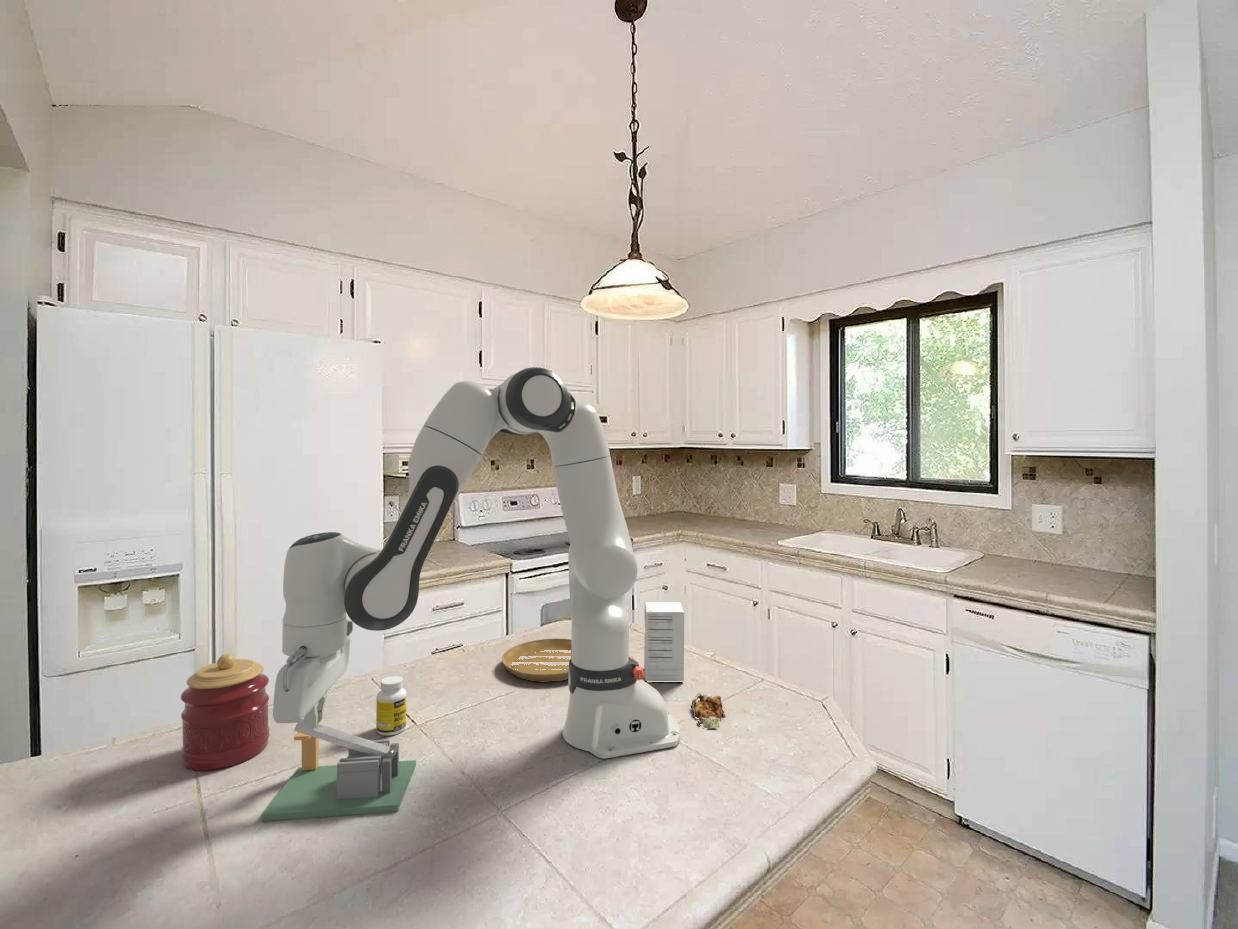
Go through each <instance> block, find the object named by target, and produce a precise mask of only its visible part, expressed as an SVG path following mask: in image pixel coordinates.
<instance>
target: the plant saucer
mask: <svg viewBox="0 0 1238 929" xmlns="http://www.w3.org/2000/svg"><path fill="white" fill-rule="evenodd" d="M544 650H568V651H569V650H571V638H544V639H543V638H542V639H536V640H535V639H533V640H530V641H525V642H522V643H519V644H517V645H514V646H512V647H510V648H509V649H507V650H506V651H505V652H504V653H503V655H502V657H501V661H502V664H503V666H504V668H505V669H506V670H507V672H509V673H510V674H512V675H513V676H515V677H516V678H519V679H521V678H522V680H524V679H525V680H524V681H528V680H530V681H529V682H534V681H545V682H544V683H551V682H550V681H558V682H563V680H565V681H568V680H567V679H568V667H569V665H567V666H565V665H563V666H562V665H559V666H558V665H556V666H554V665H553V666H551V665H550V666H548V665H540V664H539V665H536V664H533V663H531V664H529V665H528V664H527V665H526V664H525V665H524V664H519V665H513V666H512V665H511V664H512V662H569V659H567V658H565V659H563V658H561V659H558V658H557V657H554V658H553V659H552V658H550V659H549V657H547V658H546V657H541V658H540V657H536V658H532V659H525V658H524V659H523V660H522V659H520V660H519V659H518V658H519V657H520V656H571V653H564V652H559V651H558V652H555V651H554V653H553V652H552V651H551V653H550V652H549V651H548V652H546V651H545V652H540V651H544ZM535 652H536V653H535ZM517 659H518V660H517ZM566 659H567V660H566ZM515 669H516V670H515ZM517 669H518V670H517ZM535 669H538V670H535ZM540 669H541V670H540ZM542 669H546V670H542ZM548 669H562V670H548ZM564 669H566V670H564ZM546 681H548V682H546Z"/></svg>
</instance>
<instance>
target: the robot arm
mask: <svg viewBox="0 0 1238 929" xmlns="http://www.w3.org/2000/svg"><path fill="white" fill-rule="evenodd" d="M498 432H500V433H506V434H509V435H515V436H520V435H522V436H523V435H530V434H537V433H538V434H540V435H541V436H542V437H543V439H544V440H545V442H546V443H547V445H548V449H549V450H550V456H551V457H550V458H551V462H552V463H551V464H552V469H553V473H554V474H553V475H554V480H555V485H556V489H557V490H556V491H557V494H558V500H559V504H560V508H561V513H562V516H563V521H564V524H565V527H566V528H565V529H566V532H567V537H568V540H569V546H568V547H569V548H568V554H567V555H568V556H567V557H568V558H567V559H568V583H569V584H568V585H569V587H568V588H569V602H570V604H569V605H570V615H571V619H570V621H571V622H570V623H571V630H570V632H571V633H570V634H571V638H570V639H571V659H570V660H569V667H568V680H567V682H568V683H567V685H568V689H569V700H568V707H567V712H566V718H565V722H564V724H563V729H562V732H561V734H562V736H563V739H564V741H565V742H566V743H567V744H568V745H571V746H572V747H574V748H576V749H579V750H582V751H586V752H589V753H591V754H593V755H594V756H595V757H597V758H599V759H604V760H605V759H610V758H617V757H623V756H627V755H633V754H634V755H635V754H639V753H644V752H645V753H646V752H649V751H650V752H652V751H656V750H662V749H669V748H674V747H677V745H678V744H679V743H680V740H681V730H680V726H679V724H678V722H677V720H676V718H674V716H673V715H672V714H671V713H670V712H668V709H667V704H666V702H665V699H664V698H663V696H662V695H661V693H660V692H659V690H658V689H656V688H655V687H653V686H652V685H651V684H649V682H645V680H644V679H645V672H644V668H643V667H641V666H640V664H639V662H638V661H637V660H636V658H634V657H633V656H631V657H630V656H629V654H630V648H629V647H630V644H629V643H630V640H629V639H630V635H629V634H630V618H629V614H628V607H627V600H626V593H628V592H629V591H631V589H632V588H633V586H634V585H635V582H636V580H637V577H638V563H637V559H636V555H635V553H634V548H633V545H632V539H631V537H630V536H631V535H630V534H629V533H630V532H629V528H628V525H627V522H626V518H625V515H624V512H623V509H622V505H621V502H620V498H619V494H618V493H619V492H618V490H617V485H616V484H617V483H616V480H615V473H614V468H613V463H612V457H611V454H610V452H611V451H610V448H609V443H608V439H607V437H606V432H605V429H604V427H603V424H602V421H601V418H600V416H599V414H598V412H597V410H596V408H595V407H594V406H592V405H591V404H588V403H585V402H583V401H581V402H580V401H576V400H575V398H574V396H573V395H572V394H571V393H570V391H569V390H568V388H567V386H566V384H564V382H563V381H562V379H561V378H560V377H559V376H558V375H557V374H556V373H554V372H553V371H552V370H550V369H547V368H544V367H539V366H538V367H537V366H536V367H534V366H532V367H527V368H524V369H521V370H519V371H518V372H516V373H514V374H511V375H510V376H508V377H507V378H506V379H505V380H504V381H502V383H501V384H499V385H497V386H496V387H495V388H489V387H487V386H485V385H484V384H481V383H478V382H476V381H471V380H464V381H463V380H462V381H459V382H456V383H454V384H453V385H452V386H451V387H450V388H449V389H448V390H447V391H446V392H445V393H444V395H443V396H442V397H441V398H440V400H439V401H438V402H437V404H436V405H435V406H434V408H433V409H432V411H431V412H430V414H429V415H428V417H427V419H426V421H425V422H424V423H423V426H421V429H420V431H419V432H418V435H417V437H416V439H415V441H414V443H413V446H412V448H411V451H410V455H409V459H408V460H407V470H408V481H409V482H408V484H409V485H408V491H407V492H408V493H407V498H406V501H405V503H404V506H403V508H402V509H401V512H400V514H399V516H398V518H397V520H396V522H395V524H394V526H393V528H392V529H391V531H390V533H389V536H388V537H387V539H386V541H385V543H384V545H383V547H382V548H381V549H379V548H373V547H371V546H370V547H369V546H366V545H362V544H361V543H358V542H355V541H353V540H352V539H349V538H348V537H346V536H344V535H343V534H342V533H340V532H337V531H328V532H326V531H325V532H320V533H315V534H310V535H307V536H305V537H301V538H299V539H298V540H296V541H295V542H293V543H292V544H291V546H290V547H289V548H288V550H287V551H286V554H285V555H286V556H285V560H284V567H283V577H282V578H283V579H282V580H283V581H282V582H283V583H282V585H283V586H282V593H283V594H282V595H283V596H282V597H283V598H284V601H285V611H284V614H283V616H282V638H281V639H282V641H281V642H282V643H281V644H282V646H281V648H282V649H281V651H282V654H284V655H285V656H288V657H287V659H286V661H285V662H286V663H285V664H284V665H283V666H281V668H279V669H278V672H277V675H276V679H275V683H274V694H273V706H272V707H273V708H272V718H273V721H274V722H275V723H276V724H297V723H298V722H300V721H301V720H302V719H304V727H305V728H306V729H314V728H315V727H316V726H317V725H318V724H320V722H321V721H323V719H324V708H325V706H326V701H327V699H328V698H327V697H328V692H329V691H330V689H331V688H332V687H333V686H334V685H335V684H336V683H337V682H338V680H339V679H340V678H342V676H343V675H344V674H345V673H346V671H347V668H348V667H349V666H348V665H349V662H350V661H349V660H350V650H351V634H352V633H353V631H354V626H355V625H356V626H358V627H360V628H362V629H364V630H367V631H373V632H374V631H375V632H379V631H386V630H390V629H393V628H396V627H397V626H399V625H401V624H402V623H404V622H405V621H406V620H407V619H408V618H409V617H410V616H411V615H412V613H414V612H413V611H414V610H415V608H416V606H417V603H418V599H419V594H420V579H421V578H420V577H421V572H422V568H423V566H424V564H425V561H426V560H427V557H428V555H429V553H430V551H431V548H432V546H433V544H434V542H435V540H436V538H437V536H438V534H439V532H440V530H441V528H442V526H443V523H444V522H445V520H446V517H447V515H448V514H449V511H450V509H451V507H452V505H453V504H454V502H455V501H456V500H457V498H458V496H459V495H460V493H461V491H462V490H463V489H464V487H465V486H466V484H467V483H468V481H469V479H470V477H472V475H473V473H474V471H475V470H476V468H477V466H478V465H479V463H480V462H481V458H482V457H483V455H484V453H485V451H486V449H487V448H488V445H489V443H490V442H491V441H492V439H493V438H494V436H495V435H496V434H497V433H498ZM347 616H348V618H349V619H347ZM354 624H355V625H354Z"/></svg>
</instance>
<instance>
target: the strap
mask: <svg viewBox="0 0 1238 929" xmlns="http://www.w3.org/2000/svg"><path fill="white" fill-rule="evenodd" d="M293 731H294V732H295V733H298V732H299V733H302V734H306V735H309V736H312V737H315V738H318V740H322V741H325V742H328V743H331V744H335V745H338V746H340V747H345V748H350V749H353V750H356V751H360V752H363V753H366V754H369V755H372V756H381V758H382V759H386V758H391V762H392V760H393V758H394V756H395V754H396V752H397V750H398V748H397V746H396V745H391V744H390V745H391V746H390V747H389V746H386V745H383V744H380V743H377V742H374V741H372V740H370V739H367V738H363V737H361V736H357V735H354V734H352V733H348V732H345V731H342V730H339V729H335V728H332V727H329V726H326V725H323V724H320V723H319V724H318V725H317V726H316V727H315V728H314V729H306V728H305V727H304V718H303V719H302V720H301V721H300V722H297V723H296V724H295V727H294V730H293Z"/></svg>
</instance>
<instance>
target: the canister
mask: <svg viewBox="0 0 1238 929" xmlns="http://www.w3.org/2000/svg"><path fill="white" fill-rule="evenodd" d="M263 671H264V666H263V665H262V664H260V663H258V662H254V661H253V660H252V659H245V658H244V659H243V658H235V657H234V655H232V654H230V653H226V654H222V655H220V657H219V658H218V659H217V661H216V662H214V663H210V664H208V665H205V666H203V667H201V668H200V669H198V670H197V671H196V672H195V673H193V674H192V675H191V676H189V677H188V678H187V680H186V685H187V686H188V687H186V689H184V690H183V691H182V693H181V695H180V701H182V702H183V703H184V709H183V711H182V712H181V715H180V719H181V721H182V722H181V724H182V727H181V728H182V748H181V750H180V751H181V758H182V761H183V765H184V766H185V768H188V769H190V770H194V771H212V770H214V771H215V770H220V769H224V768H228V767H232V766H235V765H238V764H241V763H243V762H246V761H248V760H250V759H252V758H254V757H255V756H257V755H258V754H260V753H261V752H262V751H264V749H265V748H266V747H267V746H268V743H269V737H270V727H269V700H270V697H269V694H268V693H267V689H266V687H267V685H268V684H269V681H270V679H269V676H267V675H265V674H263Z"/></svg>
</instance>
